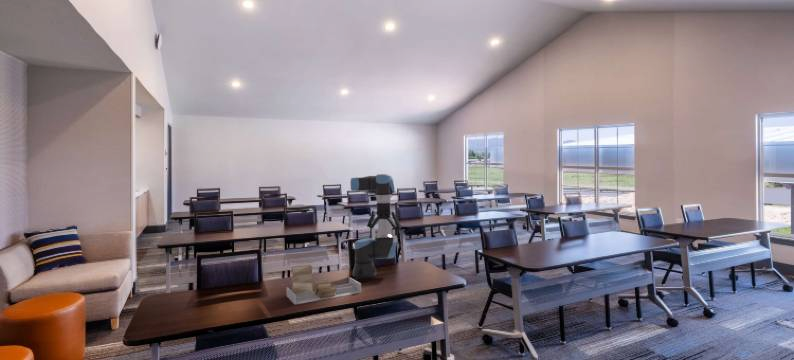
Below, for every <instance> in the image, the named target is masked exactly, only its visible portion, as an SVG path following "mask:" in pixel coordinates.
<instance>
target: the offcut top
mask: <svg viewBox="0 0 794 360" xmlns="http://www.w3.org/2000/svg"><path fill="white" fill-rule="evenodd" d="M315 286H317V288H318V289H319V290H322V289H329V288H331V286H332V284H331V283H330V282H329V281H328V280H320V281H315Z"/></svg>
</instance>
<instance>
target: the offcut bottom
mask: <svg viewBox="0 0 794 360" xmlns="http://www.w3.org/2000/svg"><path fill="white" fill-rule="evenodd" d="M313 292H314V293H315V294H316V295H317V296H318V297H320V298H326V297H332V296H335V292H334V293H329V294H324V295H322V294H321V293H319V292H318V291H316V290H315V288H314V289H313Z"/></svg>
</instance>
